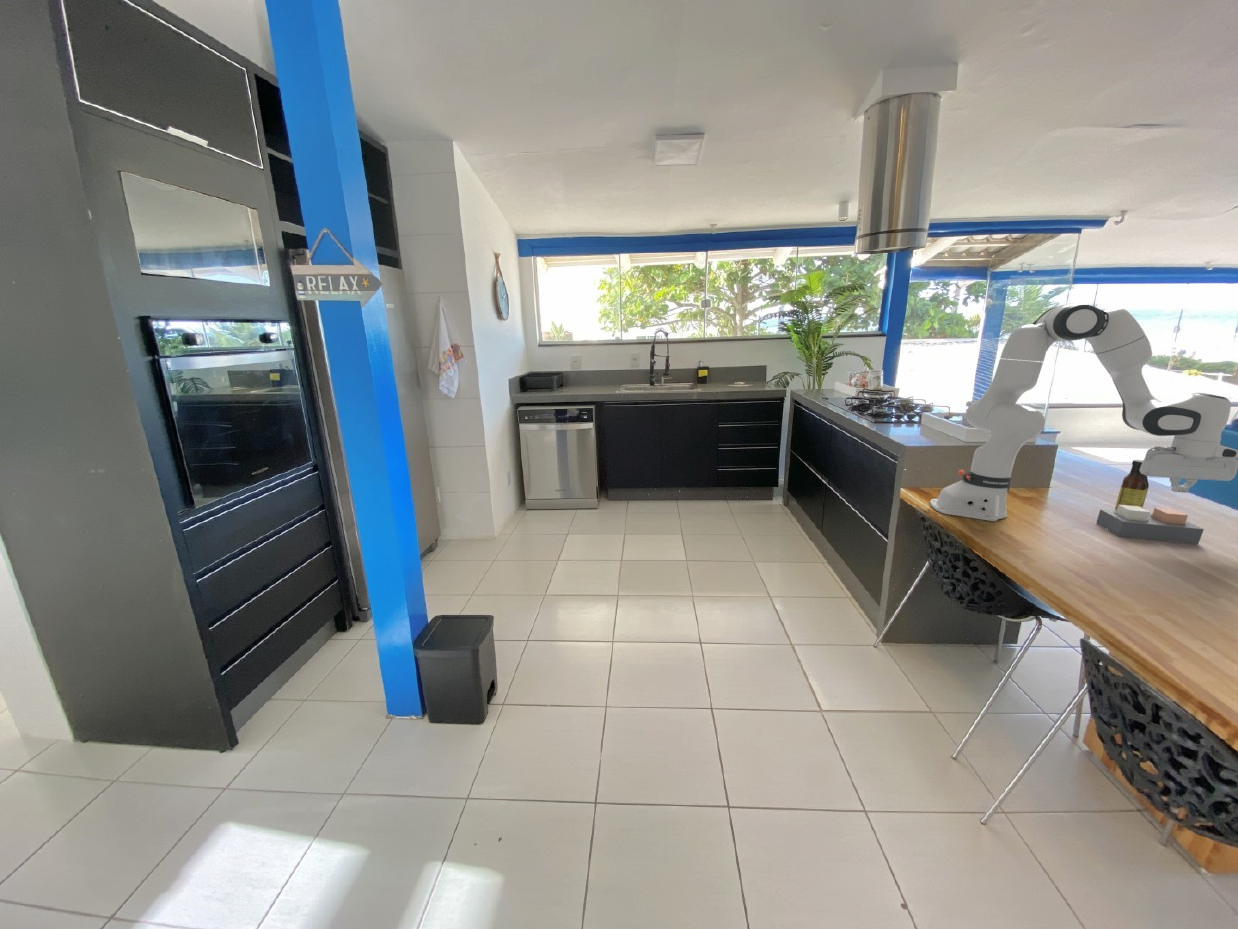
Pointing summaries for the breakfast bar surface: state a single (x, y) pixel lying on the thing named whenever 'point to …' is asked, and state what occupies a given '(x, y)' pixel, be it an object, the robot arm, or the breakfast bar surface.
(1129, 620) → the breakfast bar surface
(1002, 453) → the robot arm
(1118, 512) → the cream key
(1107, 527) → the keypad
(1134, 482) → the sauce bottle
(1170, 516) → the terracotta key
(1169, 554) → the breakfast bar surface
